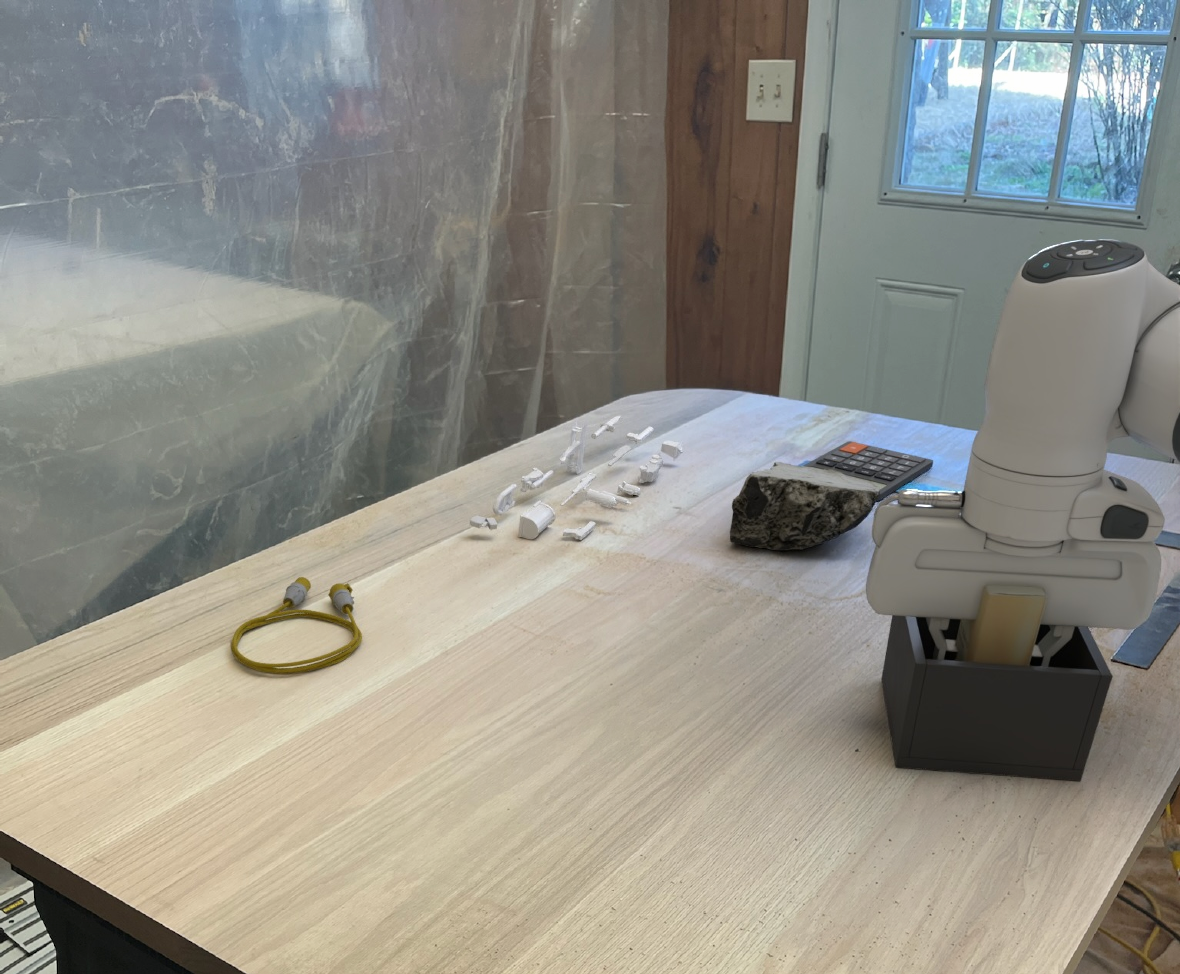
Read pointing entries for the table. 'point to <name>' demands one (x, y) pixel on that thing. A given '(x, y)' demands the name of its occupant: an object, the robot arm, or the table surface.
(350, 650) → the extension cord
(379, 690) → the table surface
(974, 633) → the cosmetic box
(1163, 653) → the table surface
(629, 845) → the table surface
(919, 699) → the open box
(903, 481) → the calculator
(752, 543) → the concrete fragment
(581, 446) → the miniature set
